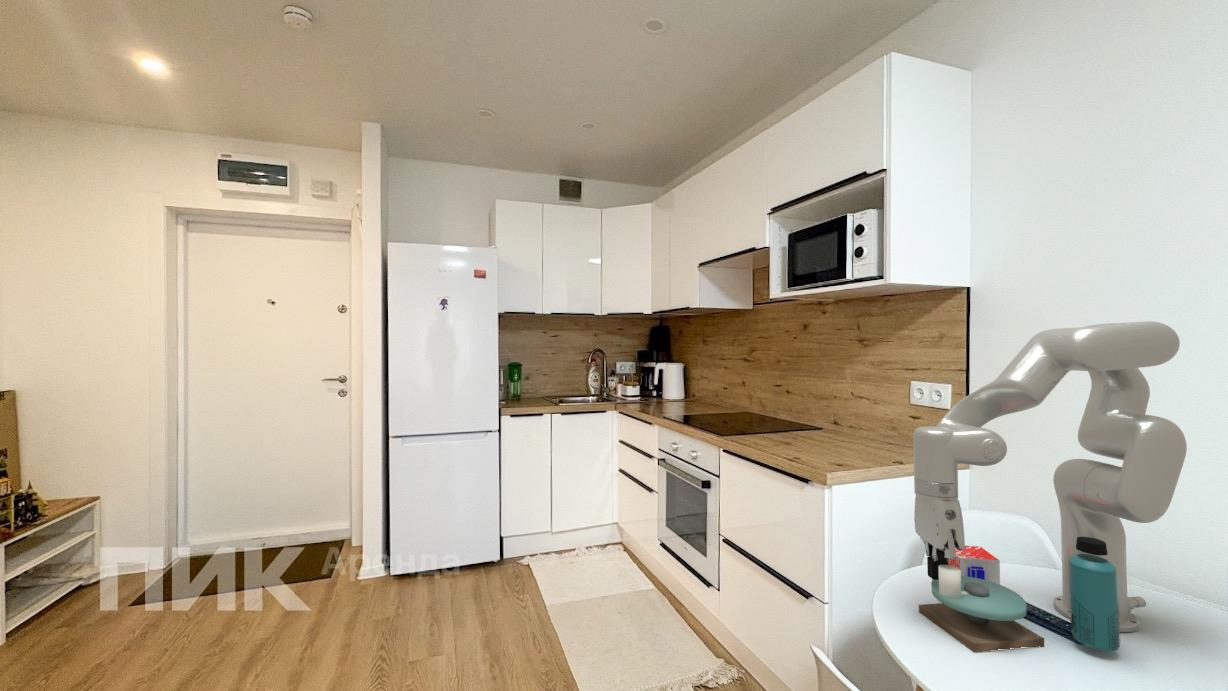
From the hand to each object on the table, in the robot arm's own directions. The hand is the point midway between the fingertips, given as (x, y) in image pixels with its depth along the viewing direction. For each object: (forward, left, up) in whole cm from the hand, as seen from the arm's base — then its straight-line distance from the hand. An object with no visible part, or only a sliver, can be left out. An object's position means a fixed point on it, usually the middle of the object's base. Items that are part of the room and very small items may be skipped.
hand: (937, 577), depth 101 cm
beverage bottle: (-20, +13, -8) cm, 25 cm away
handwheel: (-5, +4, -3) cm, 7 cm away
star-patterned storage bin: (-18, -12, -9) cm, 23 cm away
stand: (-5, +4, -8) cm, 10 cm away
